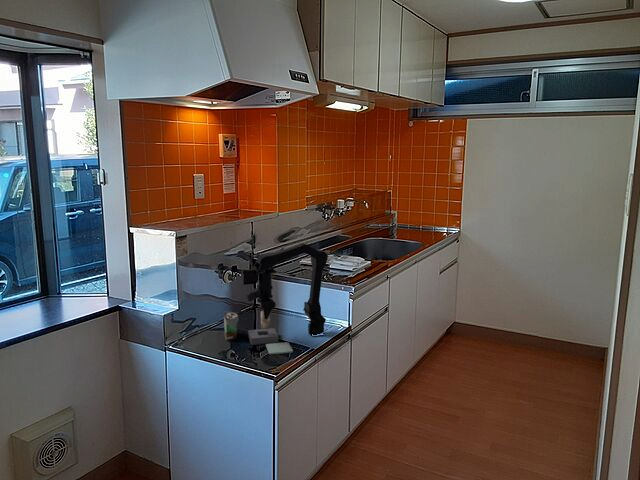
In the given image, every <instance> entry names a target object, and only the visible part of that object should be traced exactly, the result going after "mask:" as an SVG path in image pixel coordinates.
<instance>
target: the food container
mask: <svg viewBox="0 0 640 480" xmlns="http://www.w3.org/2000/svg"><path fill="white" fill-rule="evenodd" d="M239 320H240V318H239V316H238V314H237V313H236V312H232V311H223V329H224V330H223V332H224V333H223V334H224V337H225V340H226V341H232V340H235V339H236V338H237V334H238V322H239Z"/></svg>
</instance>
